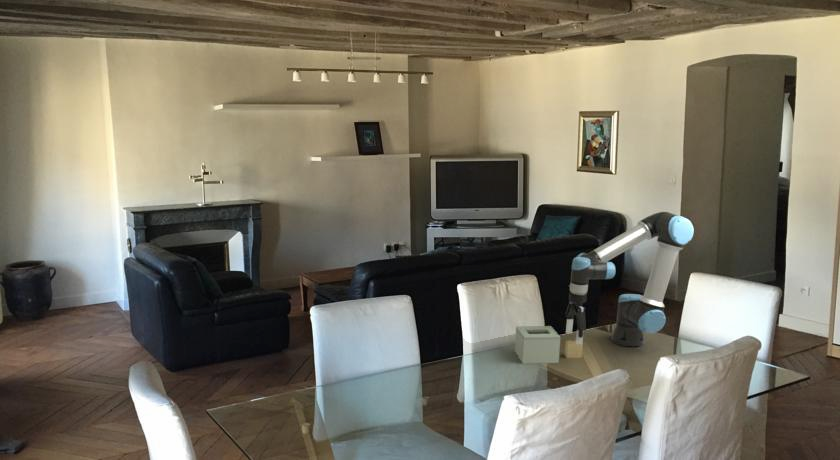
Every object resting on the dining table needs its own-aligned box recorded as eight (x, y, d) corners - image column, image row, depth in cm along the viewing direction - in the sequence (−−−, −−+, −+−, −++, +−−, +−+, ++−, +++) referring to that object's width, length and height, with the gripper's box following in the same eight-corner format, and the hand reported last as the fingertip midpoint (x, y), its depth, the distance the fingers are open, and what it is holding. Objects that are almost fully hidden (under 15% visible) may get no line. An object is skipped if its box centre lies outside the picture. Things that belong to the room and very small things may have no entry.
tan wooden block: (579, 355, 323) (580, 340, 322) (581, 357, 321) (583, 343, 319) (564, 355, 323) (565, 340, 321) (566, 358, 320) (567, 343, 318)
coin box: (548, 351, 327) (550, 326, 325) (558, 363, 314) (560, 337, 311) (514, 351, 325) (516, 326, 323) (522, 363, 312) (524, 337, 309)
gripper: (561, 284, 327) (556, 328, 331) (579, 300, 303) (574, 348, 307) (577, 284, 328) (572, 328, 332) (596, 301, 304) (591, 348, 308)
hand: (573, 338), depth 320 cm, fingers open, 13 cm apart
